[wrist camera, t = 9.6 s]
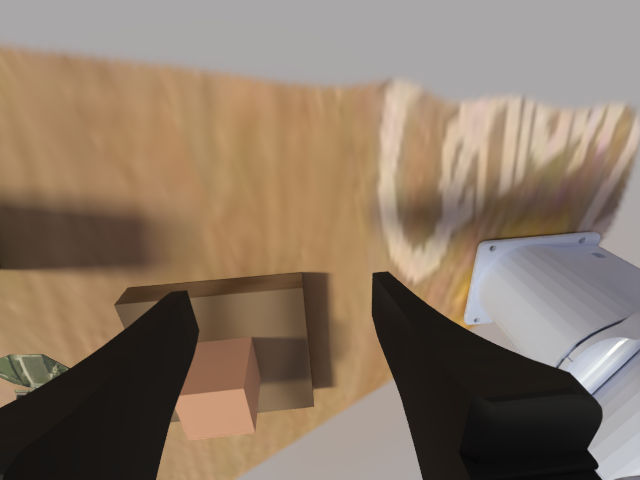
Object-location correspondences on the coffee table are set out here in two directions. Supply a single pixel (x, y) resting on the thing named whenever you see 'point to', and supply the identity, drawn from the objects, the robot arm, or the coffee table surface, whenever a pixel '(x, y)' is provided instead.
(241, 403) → the terracotta block
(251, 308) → the walnut base
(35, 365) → the eiffel tower figurine
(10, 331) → the coffee table surface
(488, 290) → the robot arm
